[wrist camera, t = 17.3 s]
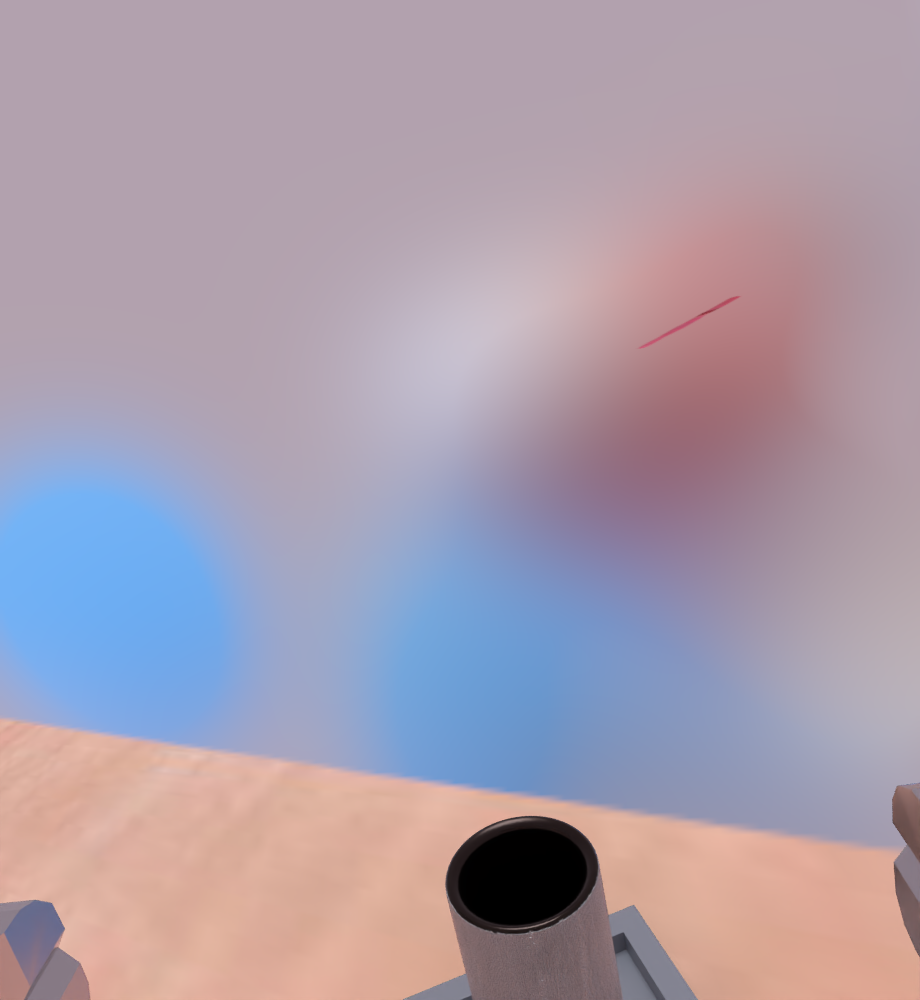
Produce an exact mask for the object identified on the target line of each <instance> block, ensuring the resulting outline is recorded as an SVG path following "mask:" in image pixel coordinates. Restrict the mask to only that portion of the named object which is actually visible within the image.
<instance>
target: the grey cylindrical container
mask: <svg viewBox="0 0 920 1000" xmlns="http://www.w3.org/2000/svg"><path fill="white" fill-rule="evenodd" d="M445 887H446V894H447V899H448V903H449V907H450V911H451V915H452V919H453V923H454V927H455V931H456V935H457V939H458V943H459V947H460V951H461V955H462V959H463V963H464V967H465V971H466V975H467V979H468V983H469V987H470V991H471V995H472V999H473V1000H623V996H622V991H621V985H620V979H619V974H618V968H617V962H616V957H615V951H614V945H613V939H612V934H611V928H610V922H609V917H608V911H607V905H606V900H605V894H604V888H603V883H602V877H601V871H600V866H599V861H598V857H597V854H596V851H595V849H594V847H593V846H592V844H591V843H590V841H589V840H588V839H587V838H586V837H585V836H584V835H583V834H582V833H581V832H580V831H579V830H577V829H576V828H574V827H573V826H571V825H569V824H567V823H565V822H562V821H560V820H556V819H553V818H548V817H541V816H522V817H515V818H510V819H506V820H502V821H499V822H496V823H494V824H491V825H489V826H487V827H485V828H483V829H482V830H480V831H478V832H477V833H475V834H474V835H473V836H471V837H470V838H469V839H468V840H467V841H466V842H465V843H464V844H463V845H462V846H461V847H460V848H459V849H458V851H457V852H456V853H455V855H454V857H453V858H452V860H451V862H450V865H449V867H448V870H447V875H446V882H445Z"/></svg>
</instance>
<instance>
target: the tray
mask: <svg viewBox="0 0 920 1000" xmlns="http://www.w3.org/2000/svg"><path fill="white" fill-rule="evenodd" d="M608 917H609V922H610V928H611V934H612V939H613V945H614V951H615V957H616V962H617V968H618V974H619V979H620V985H621V991H622V996H623V1000H698V999H697V998H696V996H695V995H694V993H693V992H692V990H691V989H690V988H689V986H688V985H687V983H686V982H685V980H684V979H683V977H682V976H681V974H680V973H679V971H678V970H677V968H676V967H675V965H674V964H673V962H672V961H671V959H670V958H669V956H668V955H667V953H666V952H665V950H664V949H663V947H662V946H661V944H660V943H659V941H658V940H657V938H656V937H655V935H654V934H653V932H652V931H651V930H650V928H649V927H648V925H647V924H646V922H645V921H644V919H643V918H642V916H641V915H640V913H639V912H638V910H637V909H636V907H635V906H634V905H632V906H630V907H627V908H625V909H623V910H620V911H618V912H615V913H613V914H610V915H608ZM403 1000H473V999H472V995H471V991H470V987H469V983H468V979H467V975H466V974H464V975H462V976H459V977H457V978H454V979H452V980H449V981H447V982H444V983H442V984H440V985H437V986H435V987H432V988H430V989H427V990H425V991H422V992H420V993H418V994H415V995H413V996H410V997H408V998H405V999H403Z"/></svg>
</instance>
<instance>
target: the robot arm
mask: <svg viewBox="0 0 920 1000" xmlns="http://www.w3.org/2000/svg"><path fill="white" fill-rule="evenodd" d="M892 805H893V806H892V809H893V824H894V825H895V827H896V828H897V830H898V831H899V832H900V834H901V836H902V837H903V838H904V840H905V842H906V843H907V846H906V847H905V848H904V850H903V851H902V852H901V853H900V855H899V856H898V857H897V859H896V860H895V861H894V873H895V888H896V895H897V899H898V902H899V906H900V910H901V913H902V917H903V921H904V925H905V927H906V929H907V931H908V934H909V936H910V938H911V940H912V943H913V945H914V947H915V950H916V951H917V953H918V955H919V957H920V783H914V784H907V785H899V786H897V787H896V790H895V793H894V796H893V799H892ZM64 930H65V928H64V926H63V924H62V922H61V920H60V918H59V916H58V914H57V912H56V910H55V908H54V906H53V904H52V903H49V902H44V901H39V900H29V901H20V902H10V903H1V904H0V1000H90V992H89V983H88V980H87V978H86V975H85V973H84V971H83V968H82V966H81V964H80V963H79V962H78V961H77V960H75V959H74V958H72V957H71V956H70V955H68V954H67V953H65V952H64V951H63V950H61V949H60V948H58V946H59V944H60V941H61V938H62V935H63V933H64Z"/></svg>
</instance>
